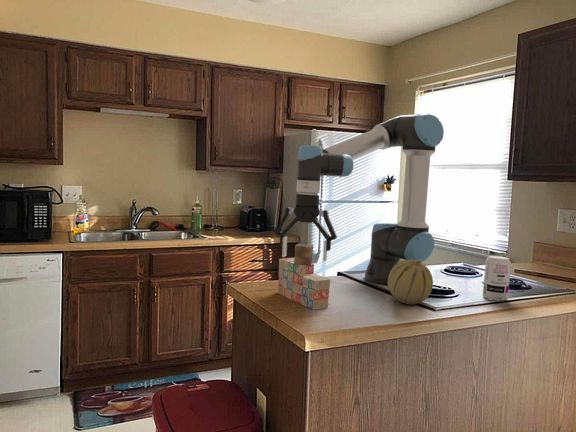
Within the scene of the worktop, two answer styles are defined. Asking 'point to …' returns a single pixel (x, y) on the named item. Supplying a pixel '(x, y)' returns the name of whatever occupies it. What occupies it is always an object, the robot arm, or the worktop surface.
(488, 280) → the supplement can
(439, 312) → the worktop surface
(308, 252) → the walnut block
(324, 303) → the stack of blocks
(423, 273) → the cantaloupe
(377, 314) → the worktop surface
